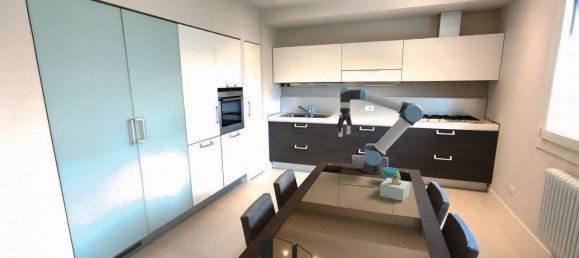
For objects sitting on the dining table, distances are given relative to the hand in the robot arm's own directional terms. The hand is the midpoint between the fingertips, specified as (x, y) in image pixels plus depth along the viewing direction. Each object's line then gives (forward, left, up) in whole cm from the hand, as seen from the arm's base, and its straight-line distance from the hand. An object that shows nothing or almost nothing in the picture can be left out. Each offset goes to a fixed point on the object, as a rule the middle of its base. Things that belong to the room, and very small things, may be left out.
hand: (344, 135), depth 198 cm
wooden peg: (+15, +44, -31) cm, 55 cm away
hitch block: (+15, +44, -32) cm, 56 cm away
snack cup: (-4, +35, -32) cm, 47 cm away
